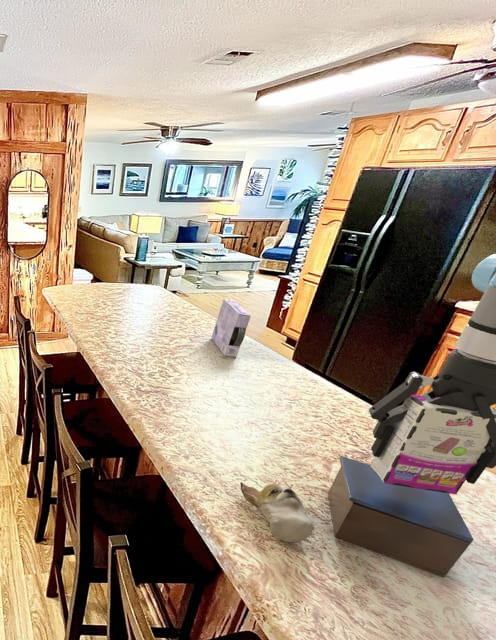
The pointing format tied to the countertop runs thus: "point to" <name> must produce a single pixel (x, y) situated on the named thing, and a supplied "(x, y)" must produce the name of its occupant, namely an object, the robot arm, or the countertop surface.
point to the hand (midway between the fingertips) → (419, 465)
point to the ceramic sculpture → (280, 511)
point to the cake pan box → (230, 327)
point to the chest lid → (403, 500)
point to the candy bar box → (433, 447)
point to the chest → (392, 534)
